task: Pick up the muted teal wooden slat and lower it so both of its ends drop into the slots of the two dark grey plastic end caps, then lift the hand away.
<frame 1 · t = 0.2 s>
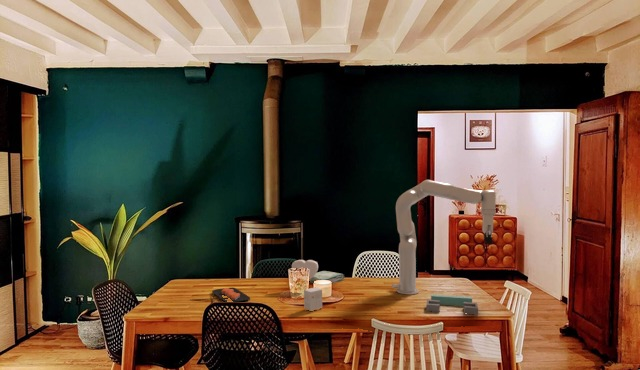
hand: (488, 242, 256), 31 cm above the table, tool pointing down, fingers open, 9 cm apart
sushi plate: (217, 300, 258), on the table
end caps: (451, 310, 234), on the table
heart sculpture: (305, 290, 275), on the table
small box: (313, 309, 238), on the table
slat: (451, 304, 245), on the table
towel: (323, 281, 298), on the table
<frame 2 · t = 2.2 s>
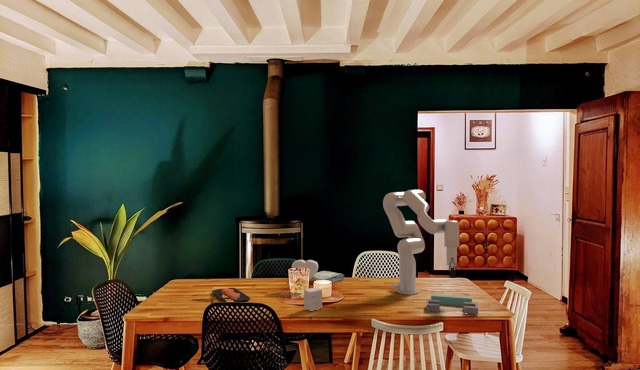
hand: (452, 275, 244), 16 cm above the table, tool pointing down, fingers open, 9 cm apart
nothing on the table moved.
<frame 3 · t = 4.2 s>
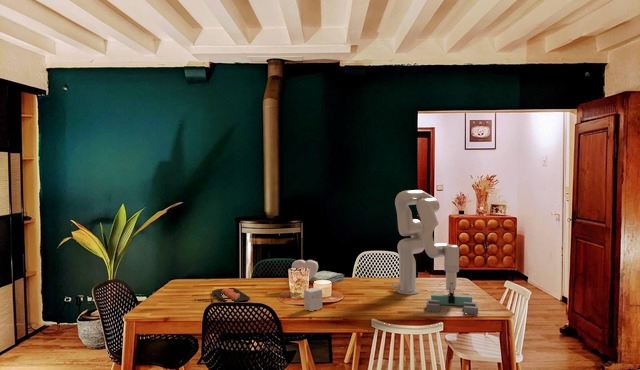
hand: (451, 302, 245), 1 cm above the table, tool pointing down, fingers closed on slat, 3 cm apart
slat: (451, 304, 245), on the table, touching gripper
everything else where it was.
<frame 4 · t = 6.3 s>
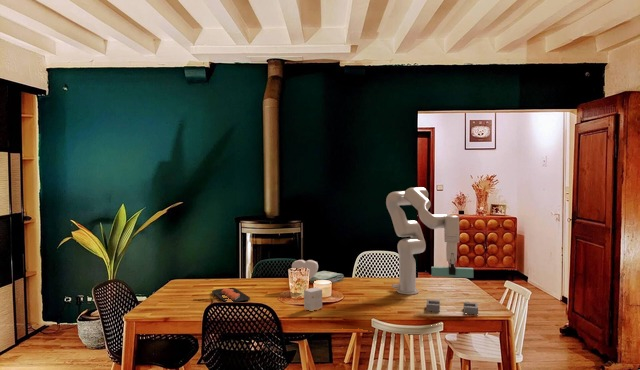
hand: (452, 273, 239), 18 cm above the table, tool pointing down, fingers closed on slat, 3 cm apart
slat: (452, 276, 240), point 16 cm above the table, touching gripper
everything else where it was.
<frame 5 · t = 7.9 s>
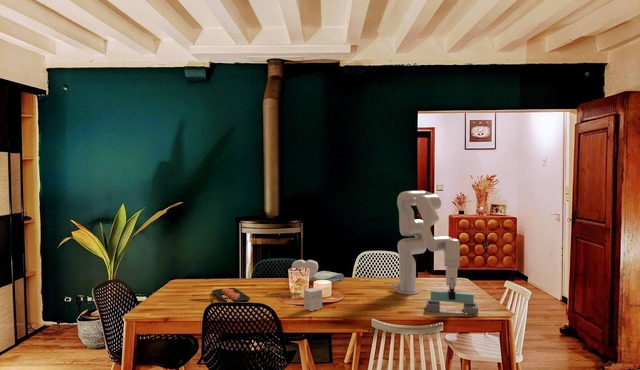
hand: (451, 298, 234), 6 cm above the table, tool pointing down, fingers closed on slat, 3 cm apart
slat: (451, 301, 234), point 5 cm above the table, touching gripper
everything else where it was.
when the fingers open (4 cm above the table, at t = 8.6 s): slat drops 1 cm, resting on end caps.
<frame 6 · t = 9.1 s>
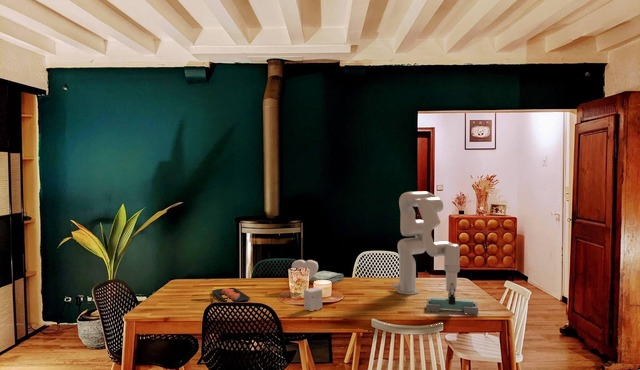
hand: (451, 301, 234), 5 cm above the table, tool pointing down, fingers open, 8 cm apart
slat: (451, 308, 234), point 1 cm above the table, touching end caps
everything else where it was.
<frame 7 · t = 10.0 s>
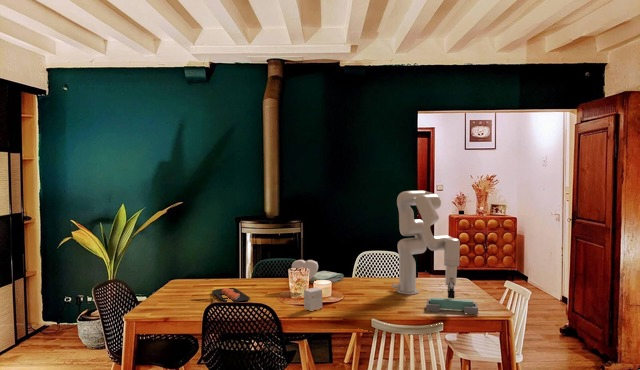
hand: (450, 295, 234), 8 cm above the table, tool pointing down, fingers open, 9 cm apart
nothing on the table moved.
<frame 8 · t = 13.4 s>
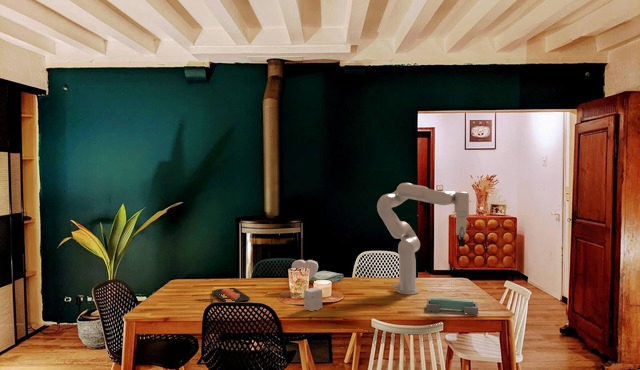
hand: (461, 245, 253), 30 cm above the table, tool pointing down, fingers open, 9 cm apart
nothing on the table moved.
at the end: slat 0.1 cm off-centre on the end caps, point 1.0 cm above the end caps's base; slat tilted 0°; the gripper is holding nothing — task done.
